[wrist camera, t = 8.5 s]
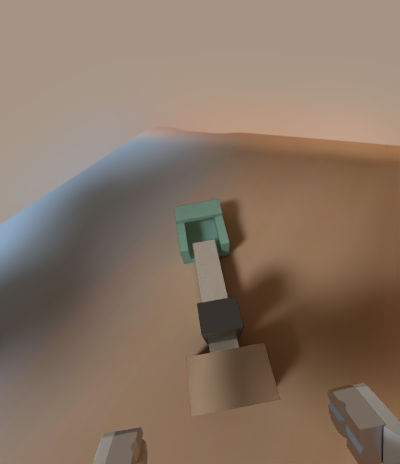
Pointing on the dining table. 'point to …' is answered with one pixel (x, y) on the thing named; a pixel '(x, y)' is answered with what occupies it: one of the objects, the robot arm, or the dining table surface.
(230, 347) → the two-tone rectangular rod
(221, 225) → the green slotted block
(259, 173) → the dining table surface
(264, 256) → the dining table surface
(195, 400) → the socket block
